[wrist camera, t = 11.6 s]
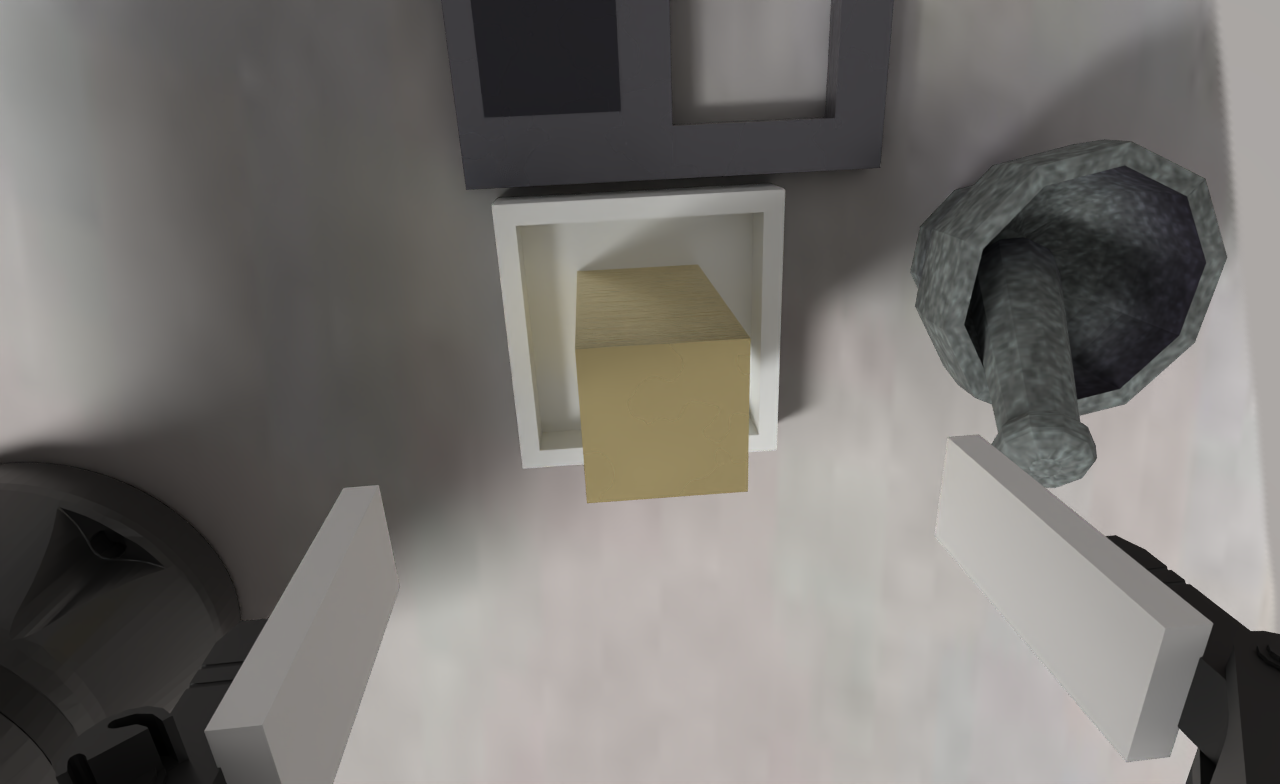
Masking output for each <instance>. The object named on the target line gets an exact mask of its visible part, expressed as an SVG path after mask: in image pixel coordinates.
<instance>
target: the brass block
mask: <svg viewBox="0 0 1280 784" xmlns="http://www.w3.org/2000/svg"><path fill="white" fill-rule="evenodd" d="M750 345H751V338H750V337H749V335H748V334H747V333H746V331H745V330H744V328H743V327H742V326H741V324H740V323H739V321H738V320H737V319H736V317H735V316H734V314H733V313H732V312H731V310H730V309H729V307H728V306H727V305H726V303H725V302H724V300H723V299H722V297H721V296H720V295H719V293H718V292H717V290H716V289H715V288H714V286H713V285H712V283H711V282H710V281H709V279H708V278H707V276H706V275H705V274H704V272H703V271H702V269H701V268H700V267H699V265H680V266H662V267H644V268H627V269H609V270H591V271H577V294H576V329H575V357H576V369H577V382H578V395H579V407H580V420H581V433H582V446H583V458H584V471H585V484H586V496H587V503H597V502H611V501H625V500H638V499H652V498H665V497H679V496H692V495H706V494H719V493H733V492H747V491H748V447H749V396H750Z"/></svg>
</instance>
